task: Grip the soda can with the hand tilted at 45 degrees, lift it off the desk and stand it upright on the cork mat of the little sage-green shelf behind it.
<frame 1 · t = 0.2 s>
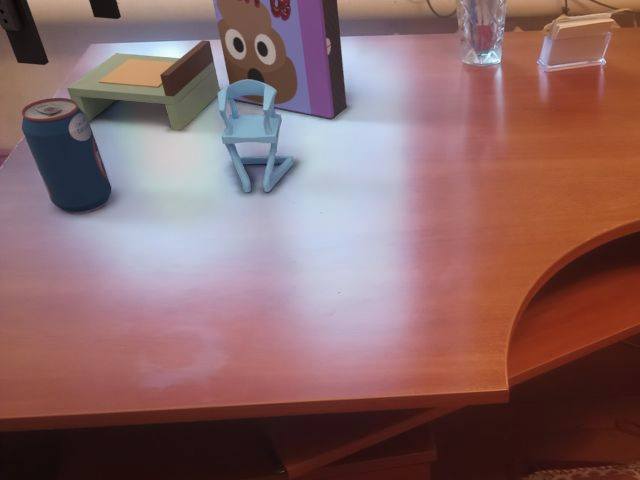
hand: (73, 38, 74), 21 cm above the table, tool pointing down, fingers open, 13 cm apart
shelf: (152, 106, 111), on the table
chair: (261, 178, 95), on the table
soda can: (85, 203, 90), on the table
cereal box: (289, 104, 113), on the table
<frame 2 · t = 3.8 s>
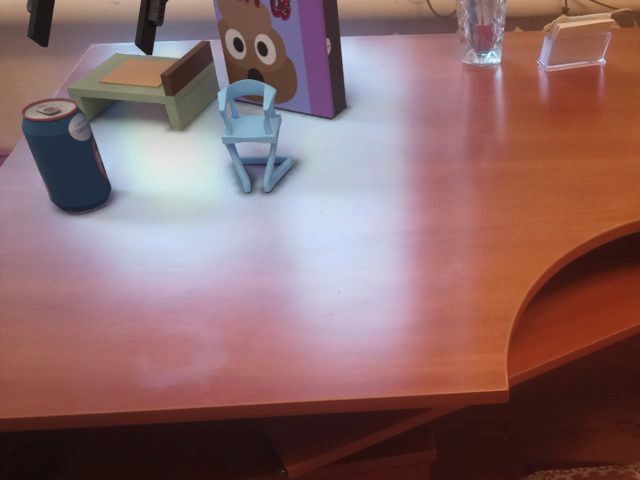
hand: (90, 46, 87), 15 cm above the table, tool tilted 45°, fingers open, 13 cm apart
nothing on the table moved.
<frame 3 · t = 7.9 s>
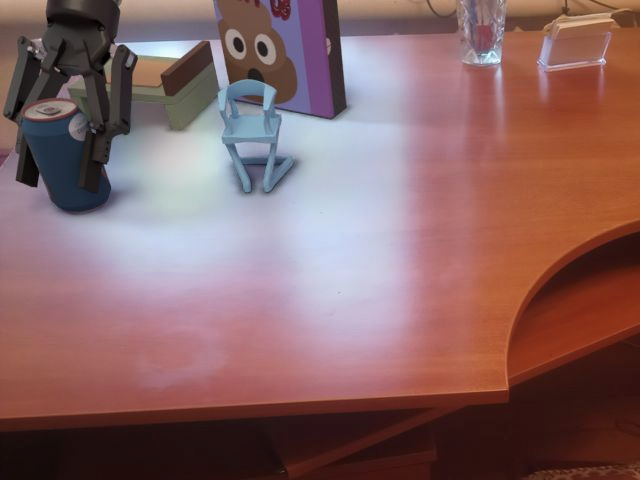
hand: (57, 186, 84), 4 cm above the table, tool tilted 45°, fingers closed on soda can, 7 cm apart
soda can: (85, 203, 90), on the table, touching gripper
everything else where it was.
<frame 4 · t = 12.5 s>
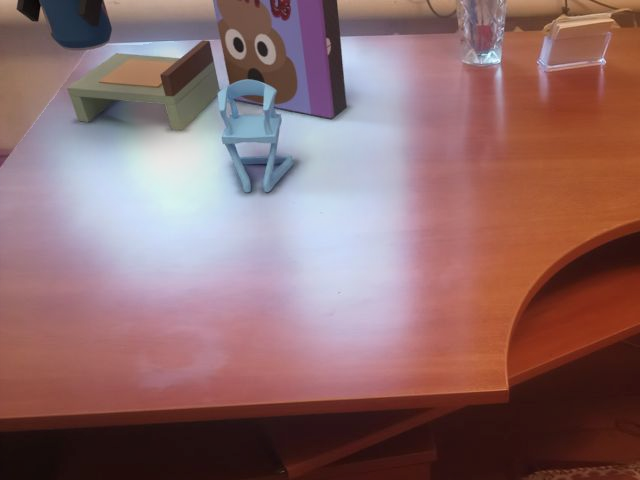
hand: (57, 17, 85), 18 cm above the table, tool tilted 45°, fingers closed on soda can, 7 cm apart
soda can: (85, 44, 90), point 14 cm above the table, touching gripper
everything else where it was.
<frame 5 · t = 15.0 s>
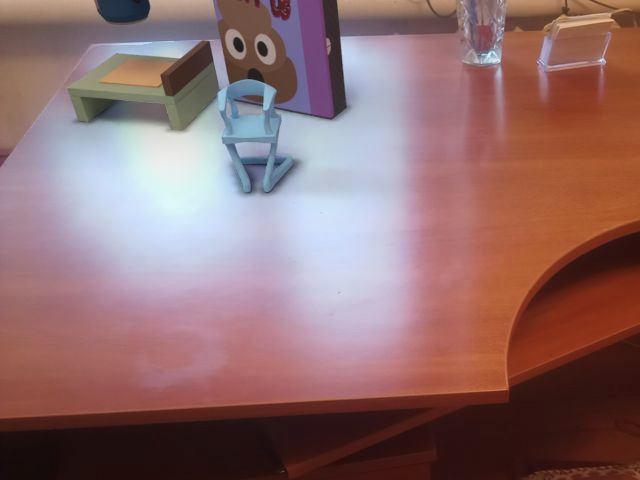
soda can: (127, 19, 102), point 13 cm above the table, touching gripper
everything else where it was.
when the fingers open (9 cm above the table, at t = 17.4 s): soda can stays where it is, resting on shelf.
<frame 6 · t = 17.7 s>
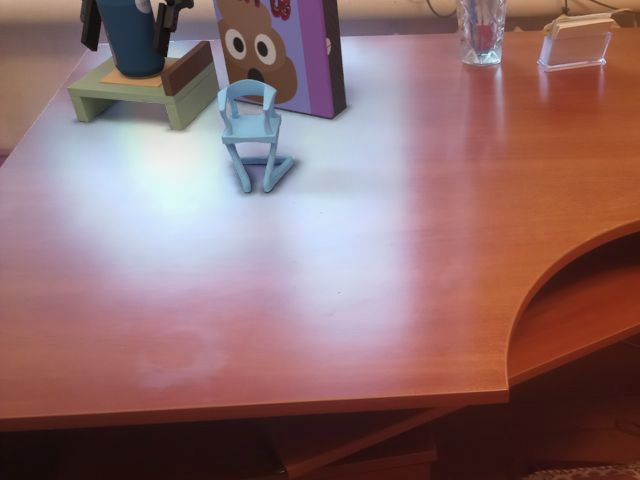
hand: (124, 49, 102), 9 cm above the table, tool tilted 45°, fingers open, 10 cm apart
soda can: (143, 73, 107), point 5 cm above the table, touching shelf
everything else where it was.
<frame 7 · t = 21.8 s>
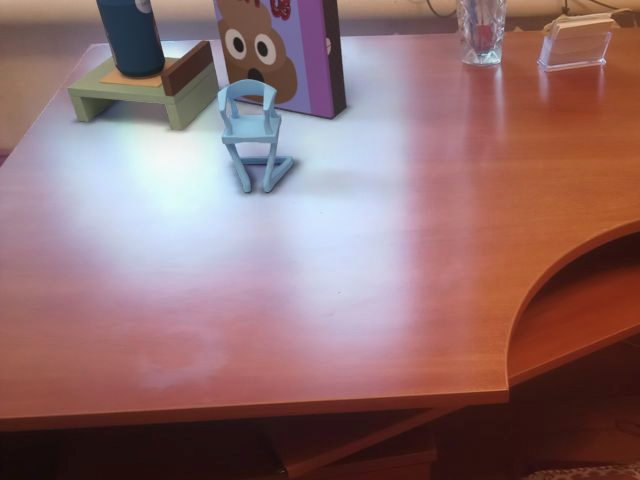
nothing on the table moved.
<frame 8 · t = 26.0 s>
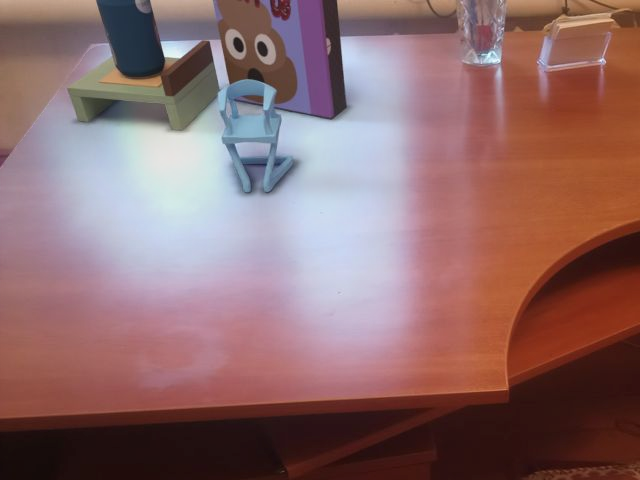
nothing on the table moved.
at the end: soda can inside the target area on the shelf (0.1 cm from its centre), point 5.0 cm above the shelf's base; soda can tilted 0°; the gripper is holding nothing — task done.
